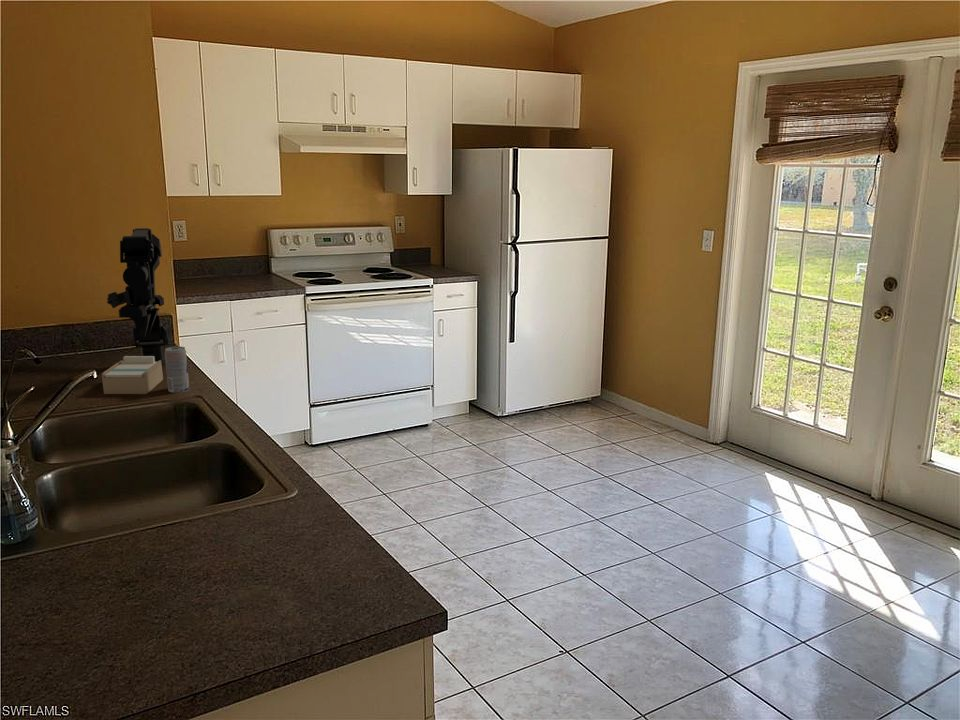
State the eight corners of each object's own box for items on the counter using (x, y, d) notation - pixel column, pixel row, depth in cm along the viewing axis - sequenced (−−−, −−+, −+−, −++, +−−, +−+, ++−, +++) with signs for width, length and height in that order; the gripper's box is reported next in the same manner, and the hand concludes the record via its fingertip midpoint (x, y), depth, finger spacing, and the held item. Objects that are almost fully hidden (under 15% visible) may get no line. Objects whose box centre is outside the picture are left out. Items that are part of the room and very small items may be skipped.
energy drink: (188, 387, 213) (184, 345, 209) (190, 393, 208) (187, 350, 205) (167, 390, 210) (163, 347, 207) (169, 395, 206) (165, 352, 202)
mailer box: (123, 381, 217) (120, 360, 215) (163, 381, 218) (161, 360, 216) (104, 396, 205) (101, 373, 203) (146, 395, 205) (144, 373, 204)
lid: (124, 364, 216) (123, 355, 215) (158, 364, 216) (157, 355, 216) (105, 377, 203) (104, 368, 203) (141, 377, 204) (140, 368, 203)
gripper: (122, 275, 223) (128, 328, 227) (95, 287, 205) (102, 344, 210) (162, 275, 224) (167, 328, 228) (138, 287, 206) (144, 344, 210)
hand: (145, 335), depth 219 cm, fingers open, 3 cm apart
